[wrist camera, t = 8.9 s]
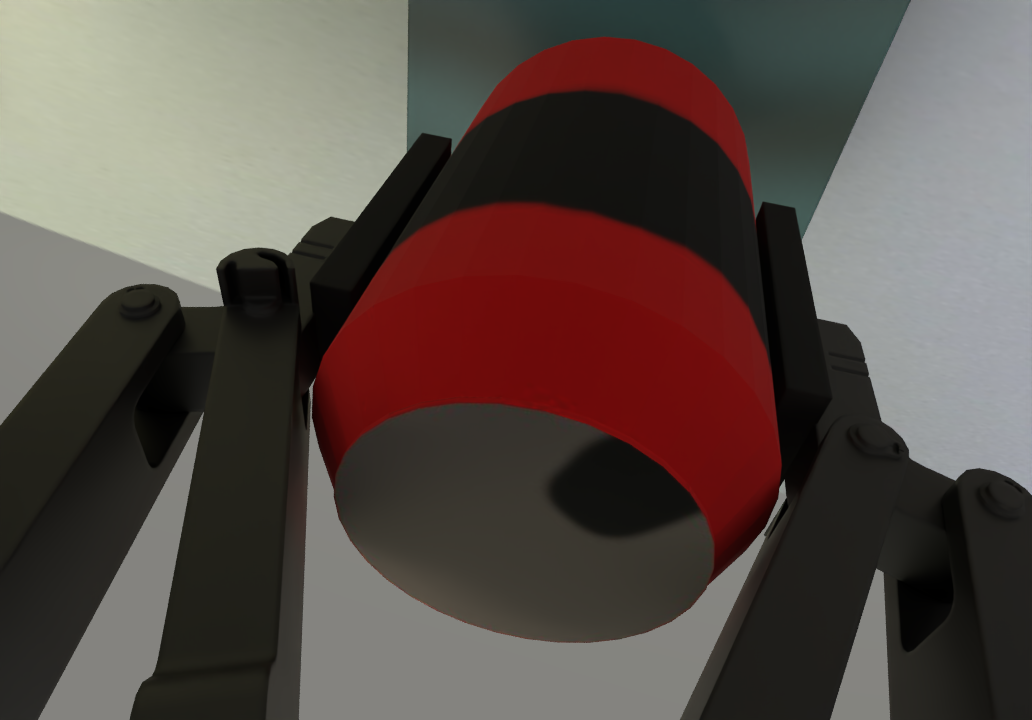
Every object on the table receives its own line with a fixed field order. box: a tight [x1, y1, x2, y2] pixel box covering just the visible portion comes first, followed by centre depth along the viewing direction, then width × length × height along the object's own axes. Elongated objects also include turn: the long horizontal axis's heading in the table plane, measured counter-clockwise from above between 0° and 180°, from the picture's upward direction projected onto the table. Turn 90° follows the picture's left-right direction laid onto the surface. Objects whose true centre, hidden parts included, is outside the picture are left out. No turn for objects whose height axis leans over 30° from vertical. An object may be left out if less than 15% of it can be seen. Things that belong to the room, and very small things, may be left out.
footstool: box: [407, 0, 911, 240], centre depth 27 cm, size 14×16×7 cm
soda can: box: [312, 37, 782, 643], centre depth 15 cm, size 8×8×12 cm
